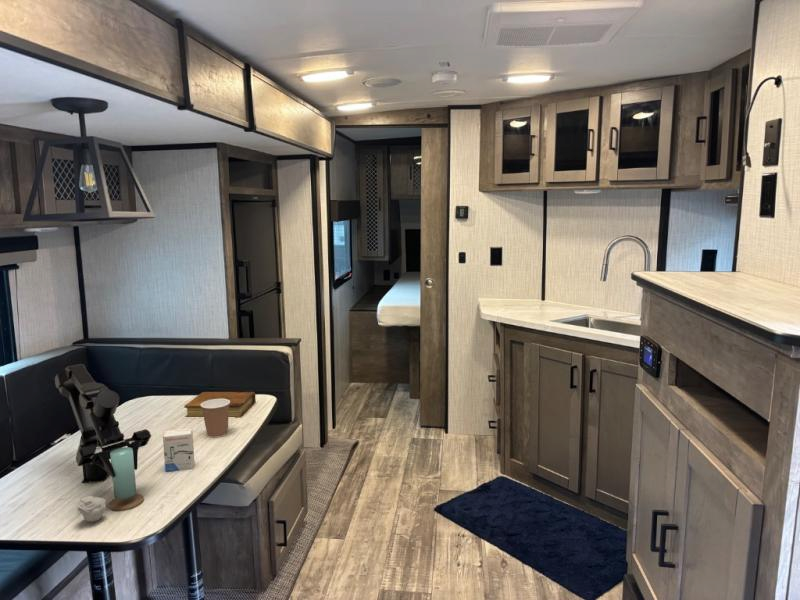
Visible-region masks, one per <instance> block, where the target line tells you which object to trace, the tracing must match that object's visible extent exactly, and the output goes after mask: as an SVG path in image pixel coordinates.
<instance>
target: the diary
mask: <svg viewBox="0 0 800 600" xmlns="http://www.w3.org/2000/svg"><path fill="white" fill-rule="evenodd" d="M212 399H227V400H229V401H230V403H229V417H235V418H234V419H239V418H241V419H242V418H243V416H244V415H246V413H248V411H249V410H250V409H251V408H252V407H253V406H254V405H255V404H256V400H257V399H256V392H255V391H202V392H201V393H199V394H198V395H196V396H195V397H194V398H193V399H191V400H190V401H189V402H187V403H186V404H185V405H184V406H183V407H184V409H186V414H187V415H185V417H204V416H203V411H202V407H201V403H203V402H205V401H208V400H212Z"/></svg>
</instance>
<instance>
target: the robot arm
mask: <svg viewBox="0 0 800 600" xmlns="http://www.w3.org/2000/svg"><path fill="white" fill-rule="evenodd" d="M54 384H55V388H56V389H58V391H59V393H60V395H61V396H63V397H65V398H67V399H68V400H69V402H70V406H71V408H72V411H73V415H74V417H75V421H76V423H77V426H78V428H79V431H80V434H81V436H80V438H79V439H80V440H79V444H78V446H77V451H76V456H75V462H76V465H77V466H78V467H82V474H83V479H82V480H81V483H83V484H85V483H97V482H99V483H100V482H105V481H106V480H107V478H108V477H109V476H110V477H113V478H114V477H115V473H114V470H113V467H112V465H111V458H110V453H111V452H112V451H113V450H115V449H118V448H123V447H130V448H132V449H133V458H134V470H135V471H137V470H138V461H139V460H138V459H139V457H138V456H139V455H138V453H139V449H140V448H143V447H146V445H148V443H149V441H150V439H151V437H152V434H151V432H150V430H148V429H146V428H145V429H141V430H138V431H134V432H133V434H132V435H131V437H129V438H126V439H124V438H125V435H124V433H122V431H121V430H120V426H119V425H120V422H119V421H118V420H117V419H116V417H115V413H116V412H117V409H118V407H119V406H118V405H119V402H120V400H121V399H120V395H119V394H118V393H117V392H115V391H114V390H111V389H109V387H108V386H106V385H105V384H104V383H101V382H96V381H95V380H94V378H93V377H92V376H91V374H90V373H89V372H88V370H87V368H86V365H85V364H82V363H78V364H73V365H69V366H67V367H65V369H63V370H62V371H59V372H58V373H56V375H55V377H54Z"/></svg>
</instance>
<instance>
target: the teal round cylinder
mask: <svg viewBox="0 0 800 600" xmlns="http://www.w3.org/2000/svg"><path fill="white" fill-rule="evenodd" d="M110 458H111V459H110V462H111V465H112V467H113V470H114V473H115V477H114V478H113V477H112V476H111V477H112V487H113V488H112V489H113V497H114V498H117V499H124V498H128V497H131V496H133V495H134V494H136V493H137V484H136V473H135V471H136V470H135V469H134V458H133V449H132V448H130V447H127V446H126V447H122V448H118V449H115V450H113V451H112V452H111V453H110Z"/></svg>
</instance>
